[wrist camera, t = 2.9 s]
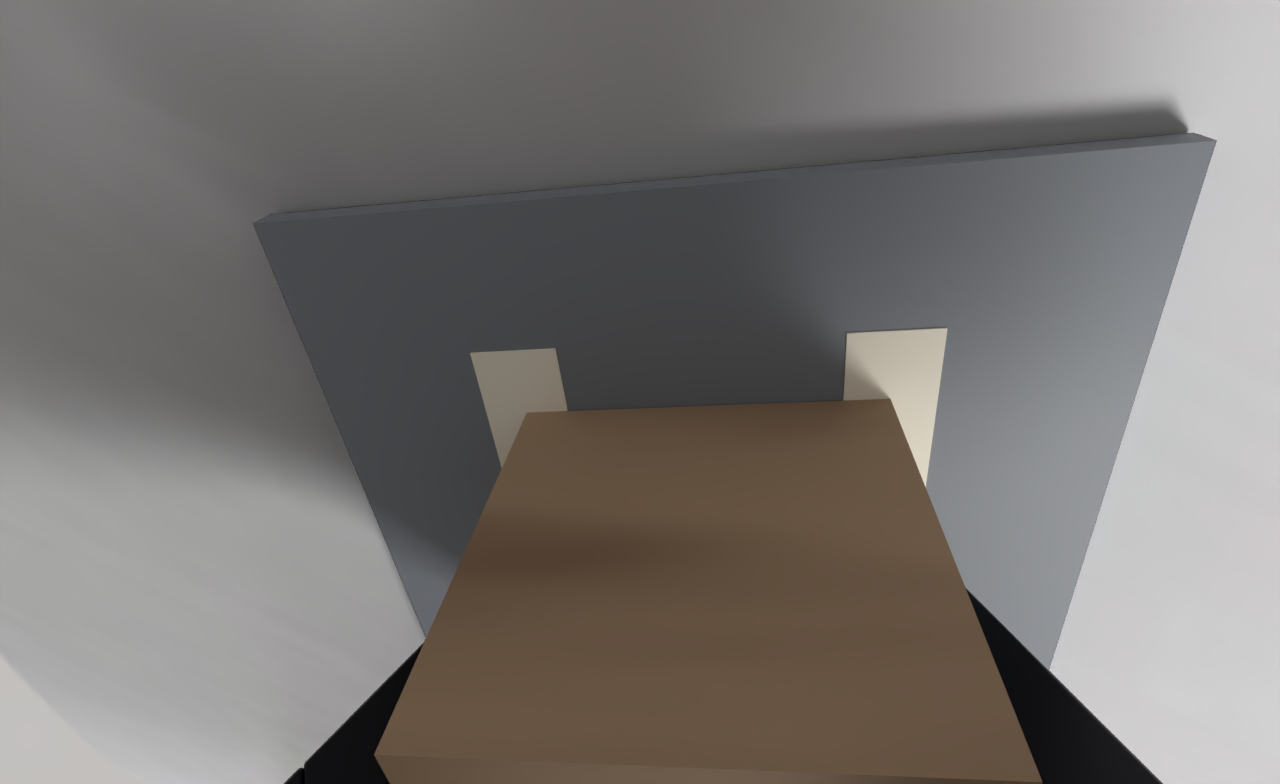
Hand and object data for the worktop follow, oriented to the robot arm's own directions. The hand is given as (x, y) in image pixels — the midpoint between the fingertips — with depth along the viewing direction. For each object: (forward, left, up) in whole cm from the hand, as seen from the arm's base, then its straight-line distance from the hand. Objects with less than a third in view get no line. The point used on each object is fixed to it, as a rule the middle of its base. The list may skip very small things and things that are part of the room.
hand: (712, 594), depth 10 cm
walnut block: (0, 0, -1) cm, 1 cm away
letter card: (0, 0, -2) cm, 2 cm away
